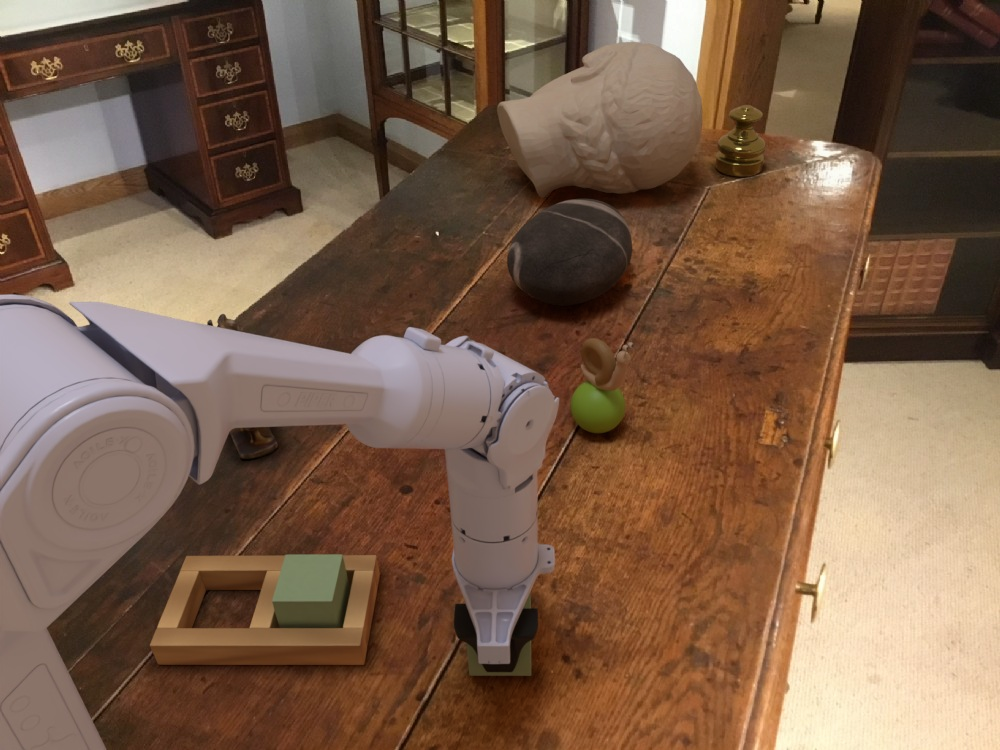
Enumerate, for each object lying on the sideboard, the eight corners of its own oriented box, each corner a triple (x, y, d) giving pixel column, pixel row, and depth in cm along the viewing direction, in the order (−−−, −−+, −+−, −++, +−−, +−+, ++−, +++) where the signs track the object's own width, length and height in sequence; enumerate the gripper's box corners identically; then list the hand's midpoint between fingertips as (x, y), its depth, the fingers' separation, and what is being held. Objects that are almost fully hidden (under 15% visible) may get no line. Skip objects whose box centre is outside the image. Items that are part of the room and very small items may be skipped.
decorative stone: (545, 242, 118) (545, 174, 112) (647, 259, 113) (652, 189, 107) (489, 312, 104) (486, 239, 98) (602, 335, 99) (606, 260, 93)
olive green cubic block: (531, 676, 63) (530, 634, 60) (469, 676, 63) (465, 634, 60) (531, 624, 67) (530, 582, 64) (472, 624, 67) (468, 582, 64)
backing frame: (364, 665, 65) (360, 645, 63) (158, 665, 66) (149, 645, 64) (380, 574, 72) (376, 554, 70) (193, 575, 73) (186, 555, 71)
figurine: (284, 460, 84) (253, 333, 75) (246, 473, 83) (209, 346, 74) (264, 418, 89) (232, 295, 80) (227, 430, 88) (191, 307, 79)
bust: (506, 163, 144) (685, 140, 142) (509, 233, 126) (714, 208, 123) (489, 39, 131) (685, 11, 129) (490, 97, 113) (718, 65, 111)
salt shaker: (772, 171, 135) (782, 108, 129) (736, 181, 132) (745, 118, 126) (740, 155, 140) (748, 95, 134) (704, 166, 137) (712, 104, 131)
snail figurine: (603, 457, 83) (608, 356, 76) (559, 425, 87) (560, 326, 80) (642, 433, 85) (651, 334, 78) (597, 403, 89) (602, 306, 82)
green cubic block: (341, 642, 67) (332, 601, 64) (283, 642, 67) (271, 601, 64) (351, 594, 70) (342, 554, 67) (296, 594, 71) (285, 554, 68)
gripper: (558, 599, 50) (556, 728, 58) (552, 437, 61) (551, 563, 70) (438, 600, 50) (453, 728, 58) (454, 437, 62) (465, 563, 70)
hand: (500, 638), depth 64 cm, fingers closed on olive green cubic block, 4 cm apart
